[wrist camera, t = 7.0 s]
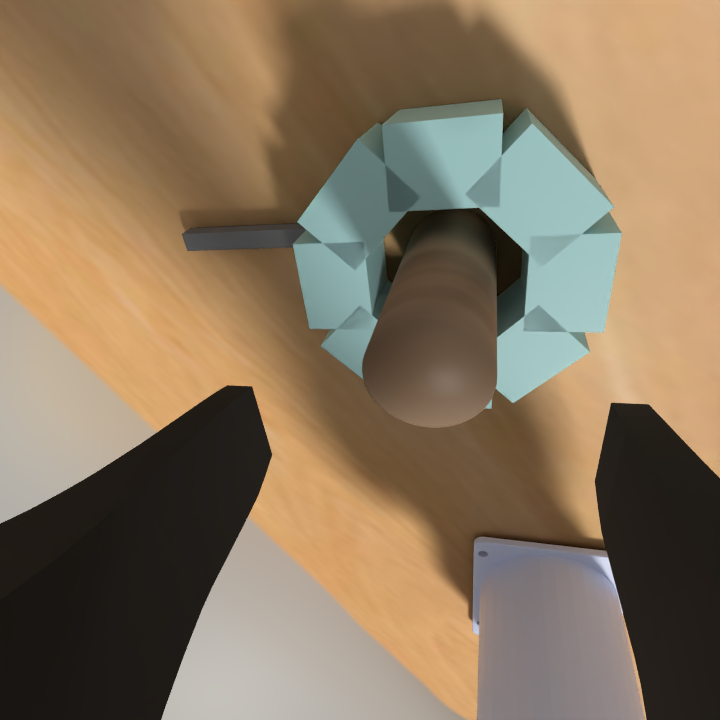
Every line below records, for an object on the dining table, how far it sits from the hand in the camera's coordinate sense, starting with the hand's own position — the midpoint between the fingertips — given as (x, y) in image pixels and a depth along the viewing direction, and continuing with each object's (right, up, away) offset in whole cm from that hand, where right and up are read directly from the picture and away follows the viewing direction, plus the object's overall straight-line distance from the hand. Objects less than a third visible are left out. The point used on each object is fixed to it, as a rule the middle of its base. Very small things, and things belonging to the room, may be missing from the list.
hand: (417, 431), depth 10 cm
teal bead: (+2, +6, +8) cm, 10 cm away
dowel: (+2, +6, +8) cm, 10 cm away
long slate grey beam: (-5, +7, +9) cm, 12 cm away
